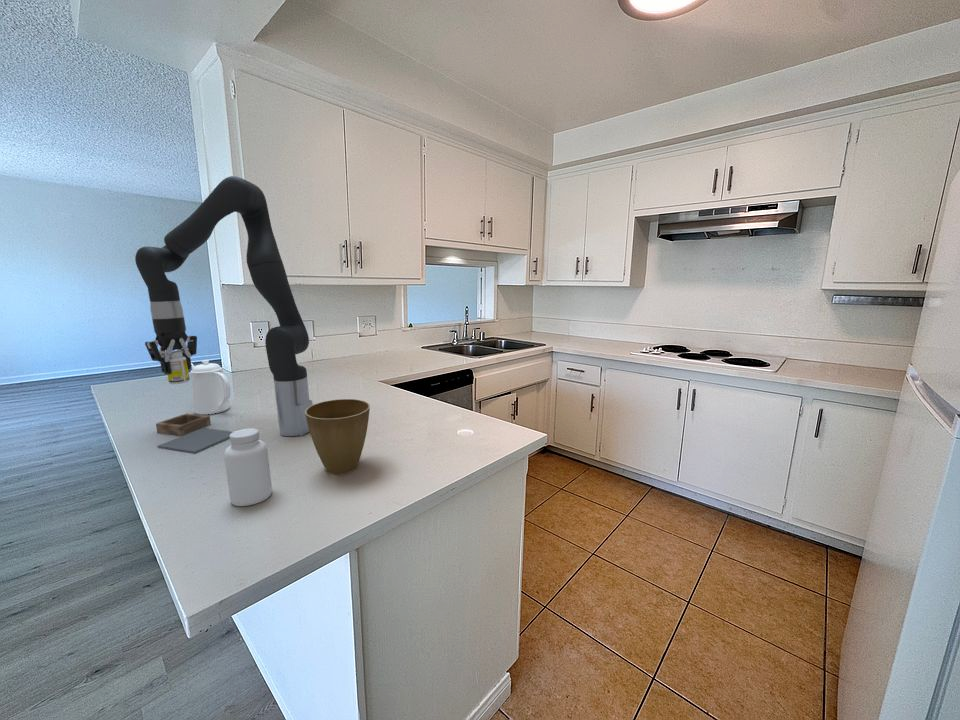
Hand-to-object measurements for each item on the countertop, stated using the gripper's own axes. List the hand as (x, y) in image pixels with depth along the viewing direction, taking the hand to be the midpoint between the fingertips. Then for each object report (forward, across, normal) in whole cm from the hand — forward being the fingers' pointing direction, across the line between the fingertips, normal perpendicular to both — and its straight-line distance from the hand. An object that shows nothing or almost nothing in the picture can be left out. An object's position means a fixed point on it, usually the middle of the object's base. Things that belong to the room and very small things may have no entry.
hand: (177, 371), depth 119 cm
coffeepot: (+19, +16, +10) cm, 27 cm away
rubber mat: (+19, -6, -12) cm, 23 cm away
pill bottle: (+20, -25, -52) cm, 61 cm away
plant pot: (+20, -8, -63) cm, 67 cm away
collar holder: (+19, 0, +2) cm, 19 cm away
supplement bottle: (+4, 0, 0) cm, 4 cm away
